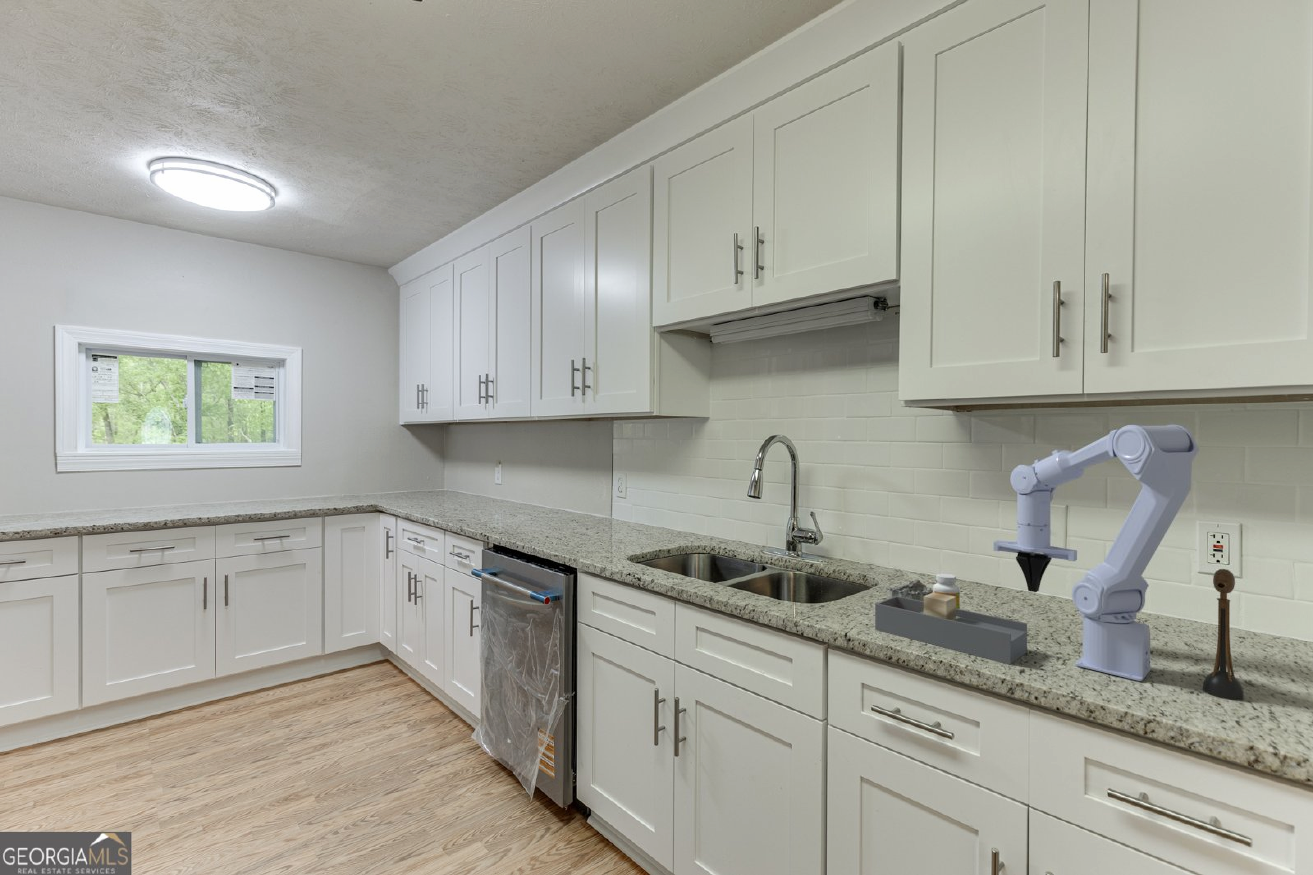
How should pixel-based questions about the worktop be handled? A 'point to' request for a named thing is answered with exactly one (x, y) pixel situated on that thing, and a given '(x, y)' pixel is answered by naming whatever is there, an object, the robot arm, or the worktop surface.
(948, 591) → the supplement bottle
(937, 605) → the maple block
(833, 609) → the worktop surface
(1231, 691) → the wooden tabletop sculpture
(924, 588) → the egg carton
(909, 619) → the grey drawer organizer tray
